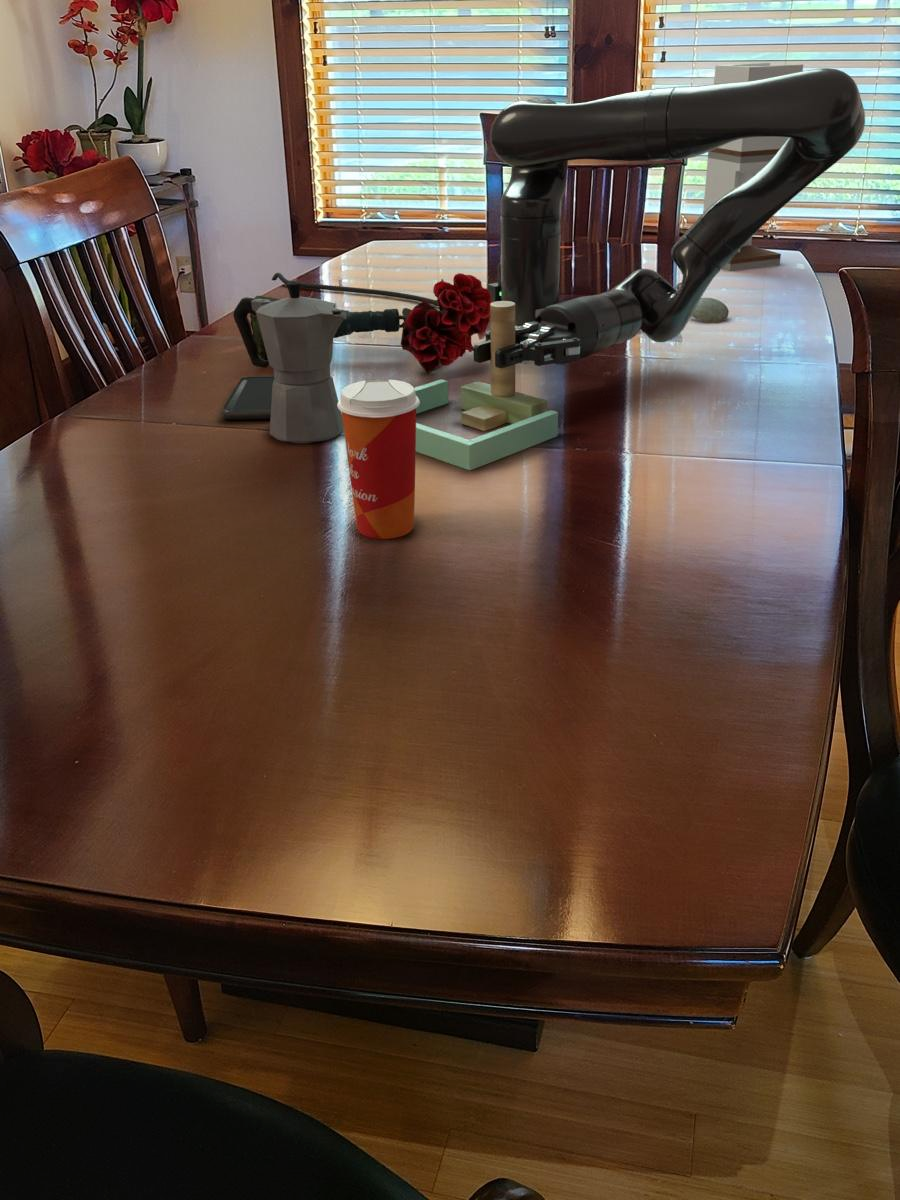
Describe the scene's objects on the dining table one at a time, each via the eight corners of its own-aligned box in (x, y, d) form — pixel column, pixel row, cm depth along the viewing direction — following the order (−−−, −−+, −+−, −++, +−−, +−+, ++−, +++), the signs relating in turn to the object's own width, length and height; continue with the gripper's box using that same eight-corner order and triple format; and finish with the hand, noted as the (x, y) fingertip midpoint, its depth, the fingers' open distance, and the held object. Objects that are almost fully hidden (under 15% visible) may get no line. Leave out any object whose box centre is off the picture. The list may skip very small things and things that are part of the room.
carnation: (269, 409, 163) (499, 396, 160) (232, 357, 145) (490, 341, 142) (271, 314, 167) (497, 299, 163) (235, 251, 149) (488, 233, 145)
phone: (220, 411, 135) (242, 376, 148) (221, 420, 136) (243, 384, 149) (282, 410, 135) (299, 375, 148) (283, 419, 136) (299, 383, 149)
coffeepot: (373, 425, 133) (364, 276, 124) (334, 450, 125) (321, 294, 117) (268, 411, 139) (253, 268, 130) (225, 434, 131) (205, 284, 123)
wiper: (477, 403, 140) (475, 294, 133) (547, 423, 132) (549, 309, 125) (461, 409, 138) (458, 298, 131) (531, 430, 130) (532, 314, 123)
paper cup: (346, 513, 110) (336, 379, 103) (421, 509, 110) (416, 375, 103) (346, 546, 103) (335, 405, 96) (426, 542, 103) (421, 401, 97)
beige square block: (483, 416, 135) (483, 404, 134) (507, 423, 133) (507, 411, 132) (461, 424, 133) (461, 412, 132) (484, 431, 130) (484, 419, 130)
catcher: (442, 401, 141) (441, 378, 139) (557, 436, 128) (558, 412, 127) (354, 430, 132) (353, 406, 130) (469, 470, 119) (469, 445, 118)
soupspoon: (690, 327, 173) (731, 327, 173) (693, 306, 171) (734, 306, 171) (662, 291, 192) (699, 291, 192) (665, 272, 190) (701, 272, 190)
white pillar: (729, 270, 206) (749, 67, 190) (699, 260, 215) (715, 65, 198) (779, 264, 210) (803, 64, 193) (747, 255, 218) (767, 62, 202)
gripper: (537, 291, 142) (444, 316, 132) (623, 307, 133) (530, 335, 123) (536, 347, 146) (446, 376, 135) (620, 367, 137) (529, 399, 126)
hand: (486, 356), depth 129 cm, fingers closed on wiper, 3 cm apart
